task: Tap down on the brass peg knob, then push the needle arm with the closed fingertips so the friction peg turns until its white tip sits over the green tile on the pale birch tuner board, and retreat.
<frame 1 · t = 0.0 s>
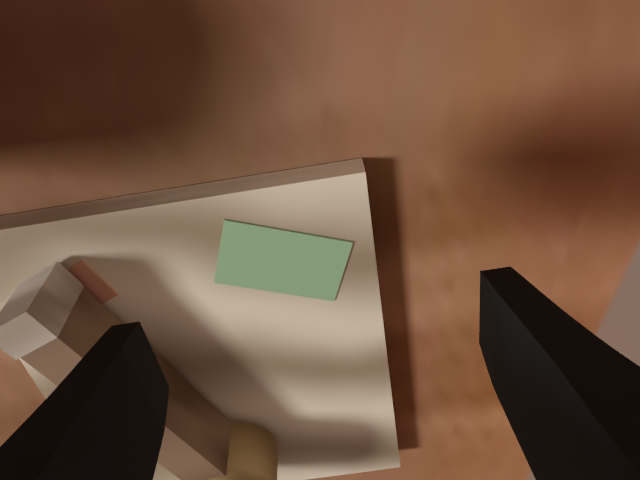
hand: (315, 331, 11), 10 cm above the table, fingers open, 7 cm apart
green tile: (282, 244, 22), resting on tuner board
tuner board: (216, 355, 26), on the table
thin salmon tile: (82, 275, 23), resting on tuner board
friction peg: (154, 432, 22), point 4 cm above the table, hinge at 22.0°
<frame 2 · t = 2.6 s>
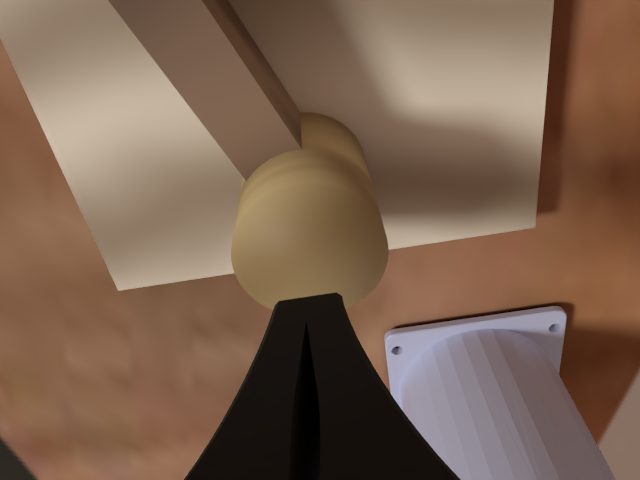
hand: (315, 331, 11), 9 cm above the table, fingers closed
tuner board: (277, 1, 16), on the table
friction peg: (187, 40, 13), point 4 cm above the table, hinge at 22.0°
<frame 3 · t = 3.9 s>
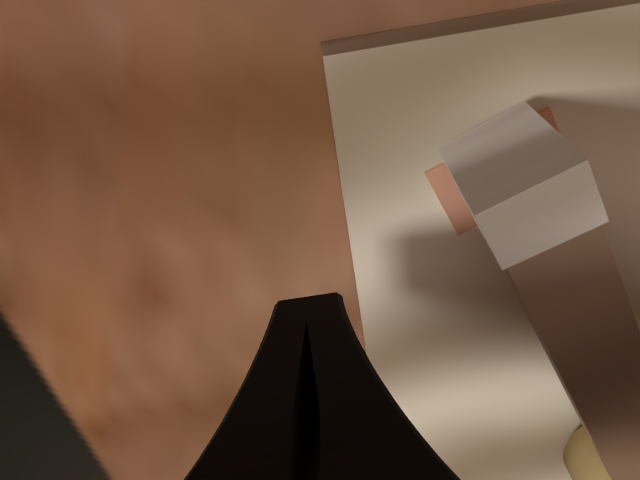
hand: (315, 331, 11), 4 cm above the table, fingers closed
tuner board: (622, 299, 16), on the table
thin salmon tile: (484, 153, 14), resting on tuner board
friction peg: (622, 414, 13), point 4 cm above the table, hinge at 22.0°
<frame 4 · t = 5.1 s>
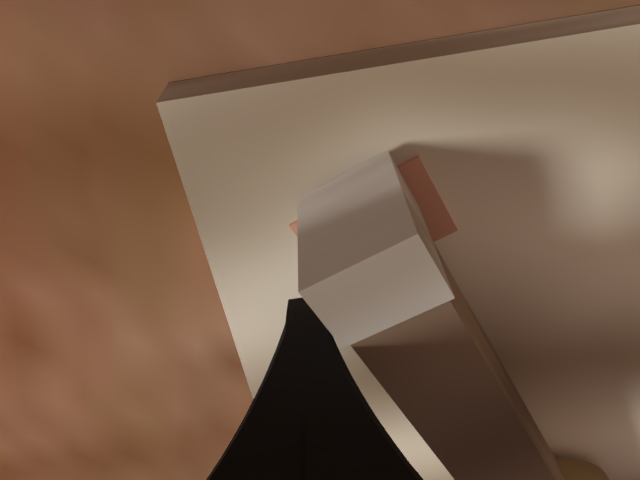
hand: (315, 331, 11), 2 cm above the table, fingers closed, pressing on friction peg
tuner board: (536, 346, 15), on the table
thin salmon tile: (367, 198, 12), resting on tuner board
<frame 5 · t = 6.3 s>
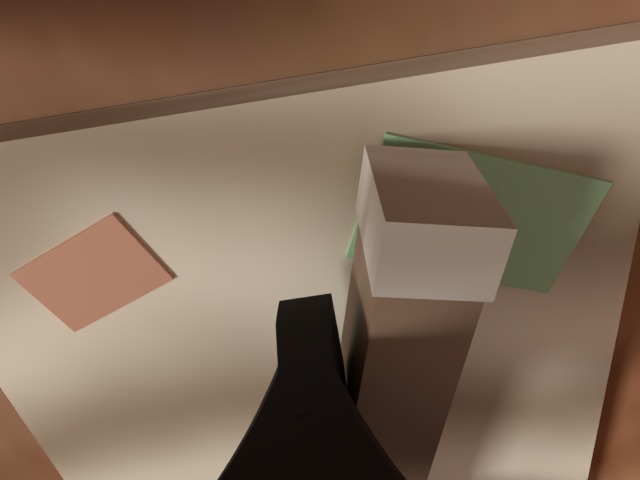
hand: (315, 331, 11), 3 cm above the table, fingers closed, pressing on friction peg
green tile: (459, 193, 13), resting on tuner board
tuner board: (316, 381, 16), on the table
thin salmon tile: (108, 245, 13), resting on tuner board
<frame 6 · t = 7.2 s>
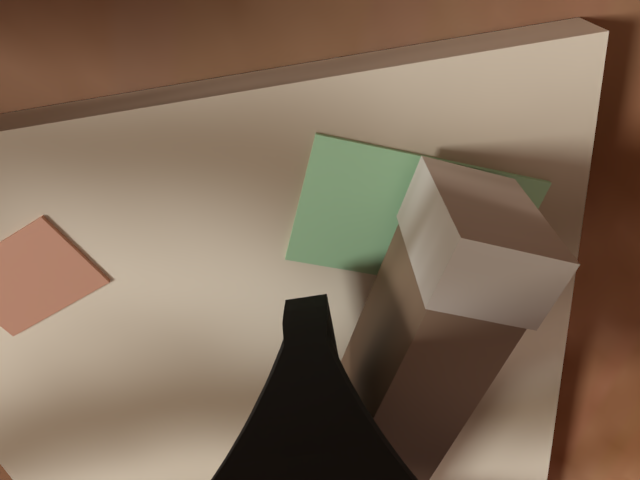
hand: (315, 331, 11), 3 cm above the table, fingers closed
green tile: (403, 193, 13), resting on tuner board
tuner board: (270, 383, 16), on the table
thin salmon tile: (48, 248, 13), resting on tuner board
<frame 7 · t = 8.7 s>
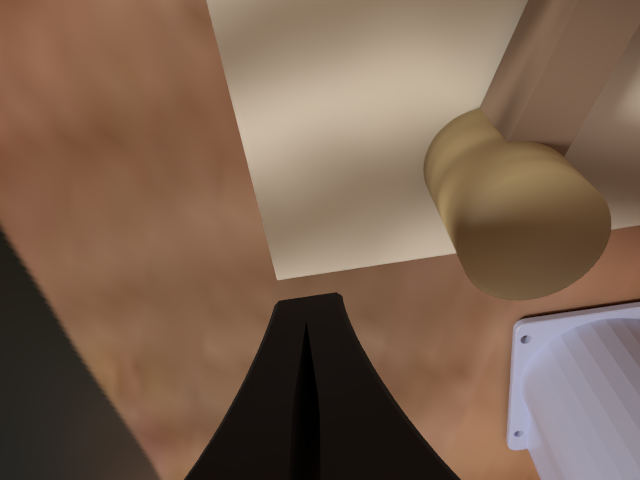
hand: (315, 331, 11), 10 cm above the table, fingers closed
tuner board: (467, 1, 17), on the table
friction peg: (602, 12, 14), point 4 cm above the table, hinge at -24.5°
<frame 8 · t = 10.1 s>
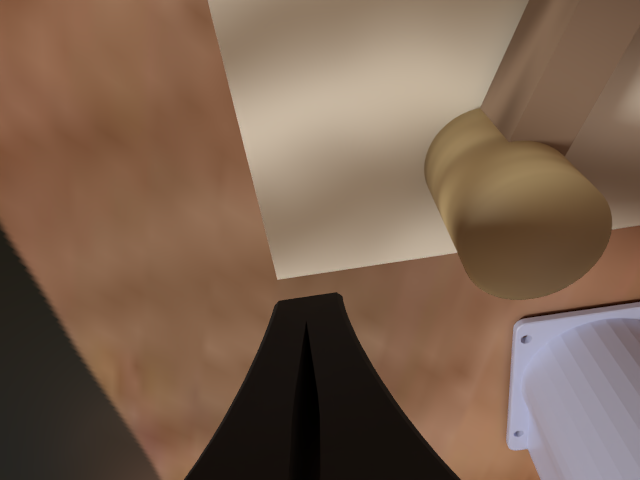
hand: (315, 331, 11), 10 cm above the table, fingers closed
tuner board: (468, 0, 17), on the table
friction peg: (603, 11, 14), point 4 cm above the table, hinge at -24.5°
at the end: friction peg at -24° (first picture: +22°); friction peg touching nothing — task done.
